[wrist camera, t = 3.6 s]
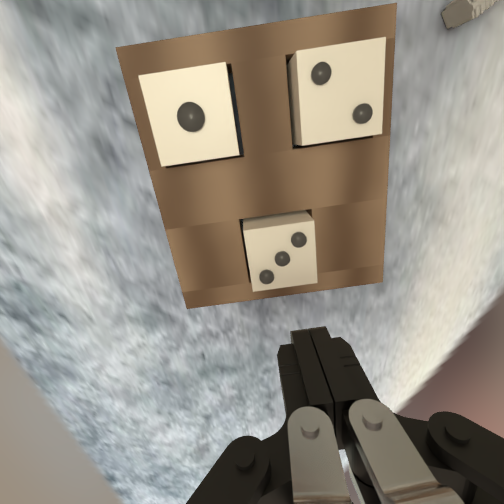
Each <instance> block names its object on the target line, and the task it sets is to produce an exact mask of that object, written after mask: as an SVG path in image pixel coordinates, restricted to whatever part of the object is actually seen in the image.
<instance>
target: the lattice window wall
mask: <svg viewBox="0 0 504 504" xmlns="http://www.w3.org/2000/svg"><path fill="white" fill-rule="evenodd" d="M497 1H499V0H453V1H452V2H451V3H450V4H448V5H447V6H446V10H444V11H443V12H442V13H441V14H442V16H443V19H444V22H445V25H446V27H447V29H448V28H450V27H452V26H453V28H455V27H457V26H459V25H461V24H463V23H465V22H467V21H469V20H472V19H474V18H477V17H478V16H479V14H482V13H483V11H484V10H487V9H489V6H492V5H494V2H497Z"/></svg>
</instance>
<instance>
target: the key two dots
mask: <svg viewBox="0 0 504 504" xmlns="http://www.w3.org/2000/svg"><path fill="white" fill-rule="evenodd" d="M385 47H386V37H381V38H375V39H369V40H362V41H356V42H349V43H343V44H337V45H330V46H324V47H317V48H311V49H305V50H298V51H296V52H295V54H294V55H293V57H292V58H291V60H290V61H289V63H288V64H287V72H288V86H289V99H290V112H291V125H292V139H293V144H296V145H301V146H303V145H310V144H317V143H324V142H330V141H337V140H344V139H351V138H357V137H364V136H371V135H377V134H382V121H383V97H384V72H385Z"/></svg>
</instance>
